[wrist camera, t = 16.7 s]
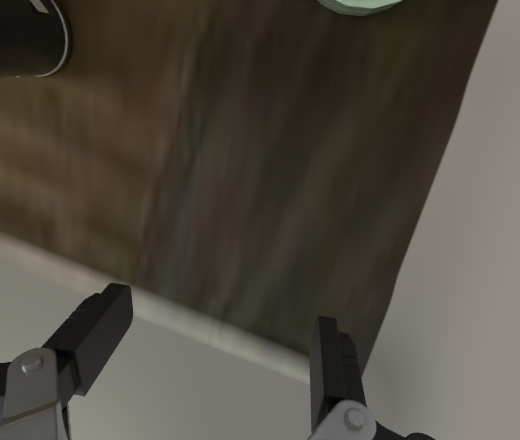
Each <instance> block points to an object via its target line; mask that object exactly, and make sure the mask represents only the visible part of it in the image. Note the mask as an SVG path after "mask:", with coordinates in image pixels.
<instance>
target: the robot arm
mask: <svg viewBox="0 0 520 440" xmlns="http://www.w3.org/2000/svg"><path fill="white" fill-rule="evenodd" d="M71 47H72V37H71V30H70V26H69V23H68V20H67V17H66V15H65V13H64V11H63V9H62V7H61V6H60V4H59V3H58V1H57V0H0V78H5V77H25V76H33V77H42V76H50V75H53V74H55V73H57V72H59V71H60V70H61V69H62V68H63V67H64V66H65V65H66V63H67V61H68V59H69V56H70V53H71ZM132 319H133V306H132V296H131V288H130V286H129V285H122V284H116V283H110V284H109V285H108V286H107V287H106V288H105V289H104V291H103V292H102V293H101V294H99V293H95V294H93V295H92V296H90V297H88V298H87V299H85V300H84V301H83V302H82V303H81V304H80V305H79V306H78V307H77V308H76V310H75V311H74V312H73V313H72V314H71V315H70V316H69V318H68V319H66V321H65V322H64V323H63V324H62V325H61V326H60V327H59V328H58V329H57V330H56V332H55V333H54V334H53V335H52V336H51V337H50V338H49V339H48V341H46V343H45V344H44V345H43V346H42V347H41V348H35V349H32V350H29V351H26V352H24V353H23V354H21V355H20V356H18V357H16V358H15V359H14V360H13V361H12V362H7V363H0V440H72V439H71V427H70V415H69V405H68V402H69V400H70V399H71V397H72V396H73V395H74V394H75V395H80V396H85V395H86V394H87V392H88V391H89V389H90V388H91V386H92V384H93V383H94V381H95V380H96V378H97V376H98V375H99V374H100V372H101V371H102V369H103V367H104V366H105V364H106V363H107V361H108V360H109V358H110V356H111V355H112V353H113V352H114V350H115V349H116V347H117V346H118V344H119V343H120V341H121V340H122V338H123V336H124V335H125V333H126V332H127V330H128V329H129V327H130V325H131V322H132ZM310 390H311V425H312V427H311V428H312V434H311V435H310V437H309V438H308V439H307V440H435V439H433V438H432V437H430V436H428V435H426V434H423V433H412V434H409V435H408V436H407V437H406V438H405V437H403V436H401V435H398V434H397V433H395V432H393V431H391V430H389V429H387V428H385V427H383V426H382V425H381V424H379V423H378V422H377V421H376V420H375V418H374V416H373V415H372V413H371V412H370V411H369V409H368V408H367V405H366V402H365V396H364V391H363V386H362V380H361V375H360V369H359V364H358V359H357V353H356V348H355V344H354V342H353V341H352V339H351V338H350V336H349V335H348V333H341V332H338V328H337V321H336V318H330V317H324V316H317V319H316V323H315V328H314V332H313V336H312V341H311V346H310Z"/></svg>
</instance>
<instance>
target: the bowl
mask: <svg viewBox="0 0 520 440" xmlns="http://www.w3.org/2000/svg"><path fill="white" fill-rule="evenodd" d="M400 1H402V0H318V2H319V3H321V4H322V5H324V6H326V7H328V8H330V9H331V10H333V11H335V12H337V13H339V14H345V15H355V16H365V15H369V14H373V13H377V12H381V11H384V10H387V9H388V8H390V7H392V6H393V5H395V4H397V3H398V2H400Z"/></svg>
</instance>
